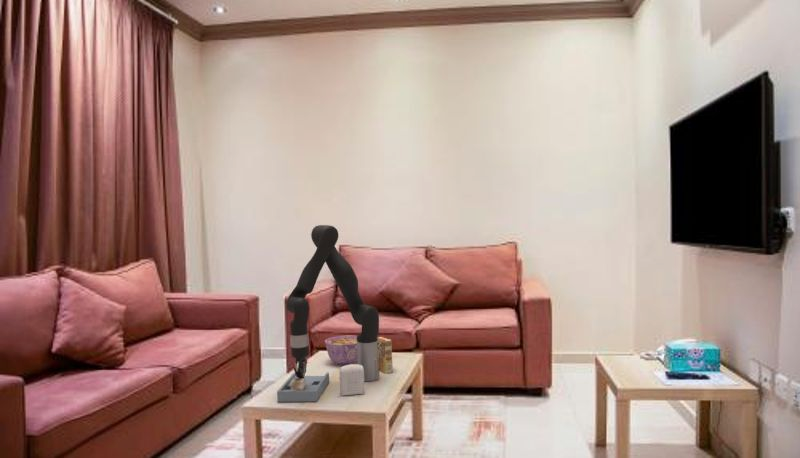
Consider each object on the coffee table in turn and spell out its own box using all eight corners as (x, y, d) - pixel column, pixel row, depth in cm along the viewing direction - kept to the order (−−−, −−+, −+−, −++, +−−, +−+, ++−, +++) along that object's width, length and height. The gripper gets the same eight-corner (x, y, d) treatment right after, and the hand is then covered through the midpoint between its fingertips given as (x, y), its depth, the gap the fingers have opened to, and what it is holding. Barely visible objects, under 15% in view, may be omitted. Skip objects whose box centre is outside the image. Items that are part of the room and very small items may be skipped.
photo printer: (363, 391, 247) (362, 362, 247) (365, 394, 243) (364, 364, 243) (339, 393, 245) (338, 364, 244) (340, 396, 241) (339, 367, 240)
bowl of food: (356, 369, 280) (355, 345, 280) (318, 367, 286) (317, 343, 286) (371, 358, 299) (370, 336, 299) (335, 356, 305) (334, 334, 305)
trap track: (329, 382, 261) (328, 372, 261) (316, 402, 235) (316, 391, 235) (293, 382, 262) (293, 372, 262) (277, 402, 236) (277, 391, 236)
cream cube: (306, 390, 241) (305, 378, 241) (303, 394, 236) (302, 381, 236) (294, 390, 242) (293, 378, 242) (290, 394, 237) (290, 382, 237)
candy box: (393, 372, 274) (392, 339, 273) (385, 373, 271) (384, 341, 271) (383, 368, 281) (382, 336, 280) (375, 369, 279) (374, 337, 278)
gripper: (304, 348, 236) (306, 390, 237) (312, 340, 249) (314, 380, 250) (286, 349, 237) (288, 391, 238) (294, 340, 250) (297, 380, 251)
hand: (301, 385), depth 244 cm, fingers closed
